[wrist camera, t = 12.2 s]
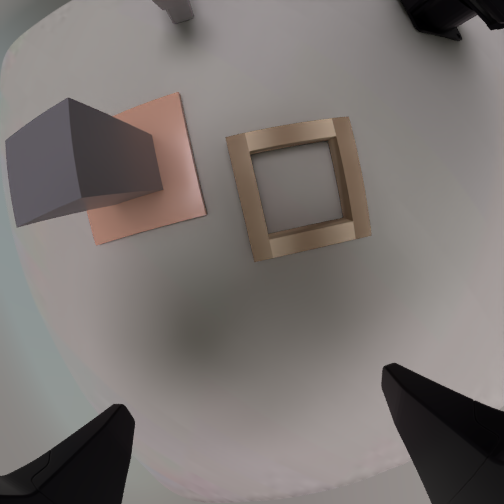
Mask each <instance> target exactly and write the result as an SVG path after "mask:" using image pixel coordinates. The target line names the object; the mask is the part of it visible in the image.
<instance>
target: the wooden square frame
mask: <svg viewBox="0 0 504 504" xmlns="http://www.w3.org/2000/svg"><path fill="white" fill-rule="evenodd" d="M225 138H226V142H227V146H228V150H229V155H230V159H231V163H232V168H233V172H234V176H235V180H236V185H237V189H238V193H239V198H240V202H241V206H242V210H243V215H244V219H245V223H246V227H247V232H248V236H249V240H250V245H251V249H252V253H253V257H254V262H258V261H262V260H267V259H271V258H276V257H280V256H285V255H289V254H293V253H298V252H302V251H307V250H311V249H315V248H320V247H324V246H328V245H333V244H337V243H341V242H346V241H350V240H354V239H359V238H363V237H367V236H371V227H370V220H369V213H368V206H367V200H366V194H365V188H364V183H363V177H362V172H361V167H360V162H359V157H358V153H357V148H356V144H355V140H354V136H353V131H352V128H351V124H350V120H349V117H339V118H330V119H322V120H315V121H308V122H301V123H294V124H288V125H283V126H277V127H271V128H266V129H261V130H256V131H251V132H247V133H242V134H238V135H233V136H229V137H225ZM322 141H328V144H329V148H330V153H331V157H332V162H333V166H334V171H335V176H336V181H337V186H338V191H339V196H340V202H341V207H342V213H343V218H339V219H335V220H330V221H325V222H321V223H316V224H311V225H307V226H302V227H298V228H293V229H289V230H284V231H279V232H275V233H270V234H268V232H267V227H266V223H265V218H264V214H263V209H262V205H261V200H260V196H259V192H258V187H257V183H256V178H255V174H254V170H253V166H252V161H251V157H250V155H251V154H256V153H260V152H265V151H270V150H275V149H280V148H286V147H291V146H297V145H303V144H309V143H315V142H322Z"/></svg>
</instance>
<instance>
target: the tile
mask: <svg viewBox="0 0 504 504" xmlns="http://www.w3.org/2000/svg"><path fill="white" fill-rule="evenodd" d="M112 117H115V118H117V119H119V120H121V121H123V122H126V123H128V124H130V125H132V126H134V127H136V128H138V129H141V130H143V131H145V132H147V133H149V134H151V135H152V138H153V143H154V148H155V153H156V158H157V163H158V167H159V172H160V177H161V181H162V185H163V190H160V191H157V192H154V193H150V194H147V195H144V196H141V197H137V198H134V199H131V200H128V201H125V202H122V203H119V204H116V205H112V206H107V207H102V208H97V209H92V210H87V214H88V218H89V222H90V225H91V229H92V233H93V236H94V240H95V243H96V245H99V244H103V243H106V242H109V241H113V240H116V239H119V238H123V237H126V236H130V235H133V234H137V233H140V232H144V231H147V230H151V229H154V228H158V227H162V226H166V225H169V224H173V223H177V222H181V221H184V220H188V219H192V218H196V217H200V216H204V215H207V211H206V207H205V203H204V199H203V195H202V191H201V186H200V182H199V178H198V174H197V169H196V165H195V161H194V156H193V152H192V147H191V143H190V138H189V134H188V129H187V125H186V120H185V115H184V110H183V105H182V101H181V96H180V94H179V92H177V93H173V94H170V95H167V96H164V97H161V98H158V99H155V100H153V101H150V102H147V103H144V104H142V105H139V106H137V107H134V108H132V109H129V110H127V111H124V112H122V113H119V114H117V115H115V116H112Z"/></svg>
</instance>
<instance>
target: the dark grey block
mask: <svg viewBox="0 0 504 504" xmlns="http://www.w3.org/2000/svg"><path fill="white" fill-rule="evenodd" d="M5 143H6V159H7V170H8V179H9V187H10V193H11V200H12V205H13V211H14V216H15V221H16V225H17V227H21V226H25V225H28V224H32V223H36V222H40V221H44V220H48V219H52V218H56V217H60V216H65V215H69V214H73V213H78V212H83V211H87V210H92V209H97V208H102V207H107V206H112V205H116V204H119V203H122V202H125V201H128V200H131V199H134V198H137V197H141V196H144V195H147V194H150V193H154V192H157V191H160V190H163V185H162V181H161V177H160V172H159V167H158V163H157V158H156V153H155V148H154V143H153V138H152V135H151V134H149V133H147V132H145V131H143V130H141V129H138V128H136V127H134V126H132V125H130V124H128V123H126V122H123V121H121V120H119V119H117V118H115V117H112V116H110V115H108V114H106V113H104V112H101V111H99V110H97V109H94V108H92V107H90V106H87V105H85V104H83V103H80V102H78V101H75V100H73V99H71V98H66V99H65V100H63V101H61V102H60V103H58V104H56V105H55V106H53V107H52V108H50V109H48V110H47V111H45V112H44V113H42V114H41V115H39V116H38V117H36V118H35V119H33V120H32V121H31V122H29V123H28V124H26V125H25V126H24V127H22V128H21V129H20V130H18V131H17V132H16V133H14V134H13V135H12V136H10V137H9V138H8V139H7V140H5Z"/></svg>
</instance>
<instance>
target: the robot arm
mask: <svg viewBox="0 0 504 504" xmlns="http://www.w3.org/2000/svg"><path fill="white" fill-rule="evenodd" d="M401 2H402V4H403V5H404V7H405V9H406V11H407V13H408V15H409V17H410V19H411V20H412V22H413V24H414V27H415V28H416V29H417V30H418V31H420V32H424V33H429V34H433V35H438V36H442V37H446V38H449V39H453V40H457V41H460V40H462V37H461V35H460V33H459V31H458V29H457V27H458V26H459V25H461V24H463V23H464V22H466V21H468V20H469V19H471V18H473V17H474V16H476V15H478V16H479V17H480V18H481V19H482V20H483V21H484V22H485V23H486V24H487V26H488V28H489V29H490V30H495V29H497V30H498V29H503V28H504V0H401ZM381 386H382V390H383V393H384V396H385V398H386V401H387V404H388V407H389V410H390V412H391V415H392V418H393V421H394V424H395V426H396V428H397V430H398V432H399V434H400V436H401V438H402V440H403V442H404V444H405V446H406V448H407V451H408V453H409V455H410V457H411V459H412V461H413V463H414V465H415V467H416V469H417V472H418V474H419V476H420V478H421V480H422V482H423V485H424V487H425V489H426V491H427V494H428V496H429V498H430V501H431V503H432V504H504V411H500V410H498V409H495V408H492V407H490V406H487V405H485V404H482V403H480V402H478V401H473V399H471V398H469V397H466V396H464V395H462V394H460V393H458V392H455V391H453V390H451V389H449V388H447V387H445V386H442V385H440V384H438V383H436V382H434V381H432V380H430V379H428V378H426V377H424V376H421V375H419V374H417V373H415V372H413V371H411V370H409V369H407V368H405V367H403V366H401V365H399V364H397V363H391V364H388V365H385V366H384V367H383V370H382V382H381ZM134 428H135V421H134V418H133V417H132V415H131V414H130V412H129V411H128V409H127V408H126V406H125V405H123V404H113V405H112V406H110V407H109V408H108V409H106V410H105V411H104V412H102V413H101V414H100V415H98V416H97V417H96V418H94V419H93V420H92V421H90V422H89V423H87V424H86V425H85V426H83V427H82V428H80V429H79V430H78V431H76V432H75V433H73V434H72V435H71V436H69V437H68V438H67V439H65V440H64V441H62V442H61V443H59V444H58V445H57V446H55V447H54V448H52V449H51V450H49V451H48V452H47V453H45V454H43V455H42V456H40V457H39V458H37V459H36V460H34V461H32V462H30V463H29V464H27V465H25V466H23V467H21V468H19V469H17V470H15V471H14V472H12V473H10V474H7V475H4V476H0V504H121V503H122V498H123V493H124V487H125V482H126V477H127V473H128V469H129V464H130V459H131V453H132V444H133V436H134Z"/></svg>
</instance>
